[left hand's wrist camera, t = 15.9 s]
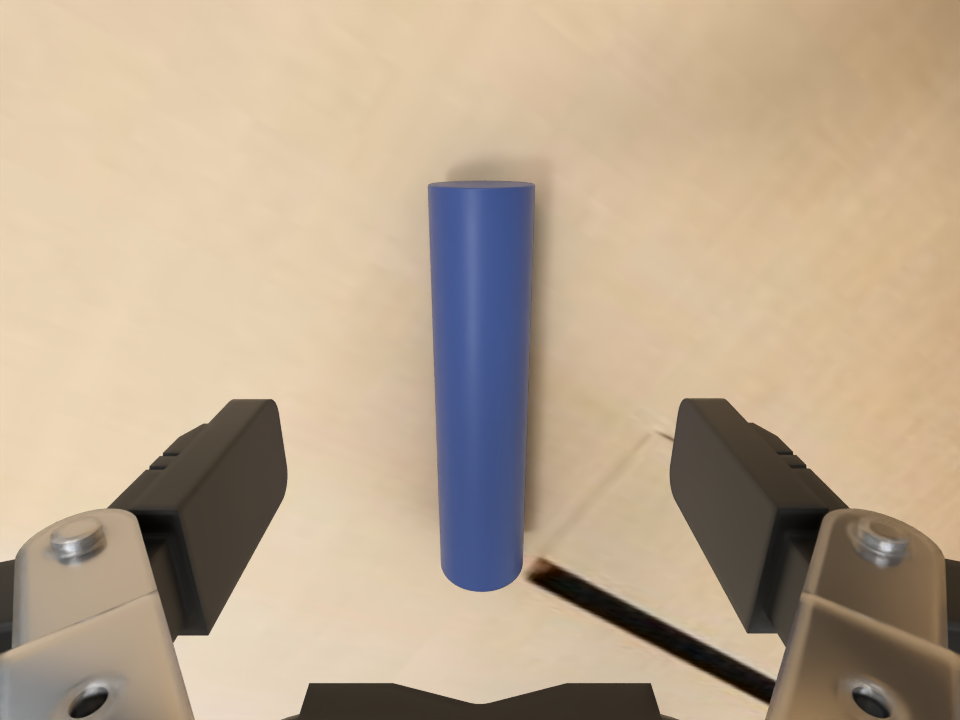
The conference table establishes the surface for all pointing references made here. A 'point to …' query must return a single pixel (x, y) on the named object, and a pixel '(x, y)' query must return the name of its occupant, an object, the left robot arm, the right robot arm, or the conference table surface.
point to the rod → (481, 373)
